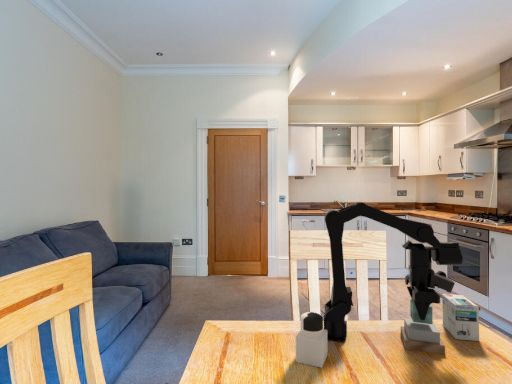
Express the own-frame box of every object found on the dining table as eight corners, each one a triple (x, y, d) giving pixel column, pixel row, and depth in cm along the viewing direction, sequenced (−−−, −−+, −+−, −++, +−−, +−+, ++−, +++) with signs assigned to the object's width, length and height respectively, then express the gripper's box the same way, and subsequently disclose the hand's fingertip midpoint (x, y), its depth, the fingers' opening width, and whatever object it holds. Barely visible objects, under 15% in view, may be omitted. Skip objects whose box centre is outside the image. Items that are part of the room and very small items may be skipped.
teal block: (413, 322, 90) (413, 305, 90) (410, 315, 95) (410, 299, 95) (432, 324, 89) (432, 306, 89) (428, 317, 93) (428, 301, 93)
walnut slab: (405, 351, 89) (405, 340, 89) (400, 335, 98) (400, 326, 98) (445, 356, 85) (444, 345, 85) (436, 340, 95) (436, 330, 95)
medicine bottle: (327, 355, 86) (327, 312, 86) (322, 368, 79) (321, 322, 79) (303, 349, 89) (302, 308, 89) (295, 362, 82) (295, 317, 82)
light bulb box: (480, 341, 92) (479, 306, 92) (455, 340, 94) (455, 304, 94) (463, 326, 103) (463, 294, 103) (441, 324, 104) (441, 293, 104)
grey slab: (408, 339, 89) (408, 328, 89) (404, 327, 97) (404, 318, 97) (439, 343, 87) (439, 332, 87) (432, 331, 94) (432, 321, 94)
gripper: (462, 274, 80) (462, 333, 80) (442, 259, 98) (443, 308, 98) (414, 271, 84) (415, 328, 84) (404, 257, 102) (404, 304, 102)
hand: (420, 316), depth 92 cm, fingers closed on teal block, 5 cm apart
